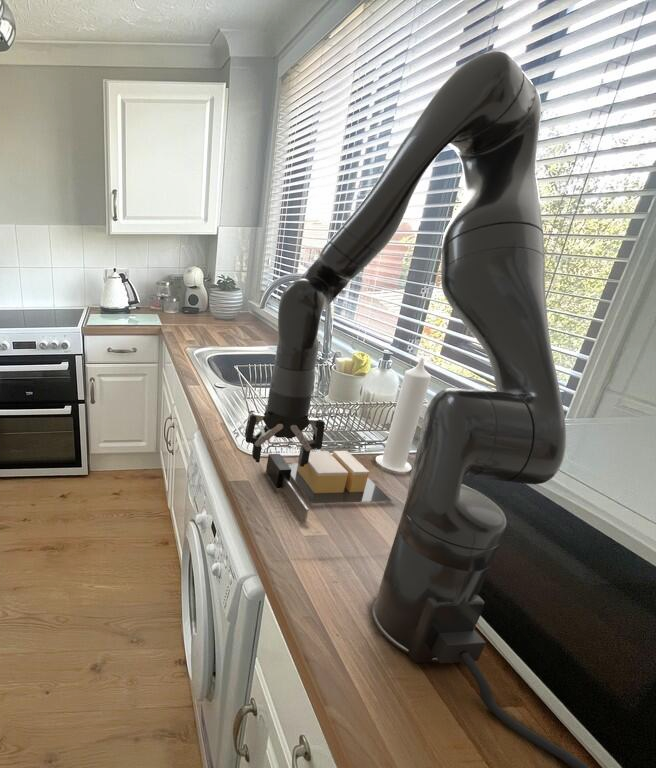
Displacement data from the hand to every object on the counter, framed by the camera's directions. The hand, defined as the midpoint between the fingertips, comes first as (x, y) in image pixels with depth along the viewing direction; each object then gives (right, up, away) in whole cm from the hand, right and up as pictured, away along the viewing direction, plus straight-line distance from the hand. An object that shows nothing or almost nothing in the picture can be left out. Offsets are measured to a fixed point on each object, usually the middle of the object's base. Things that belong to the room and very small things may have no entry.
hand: (278, 462), depth 83 cm
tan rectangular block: (+9, -4, +1) cm, 9 cm away
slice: (+14, -4, +2) cm, 15 cm away
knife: (0, -6, -3) cm, 7 cm away
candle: (+28, -3, +9) cm, 29 cm away
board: (+12, -5, +2) cm, 13 cm away
